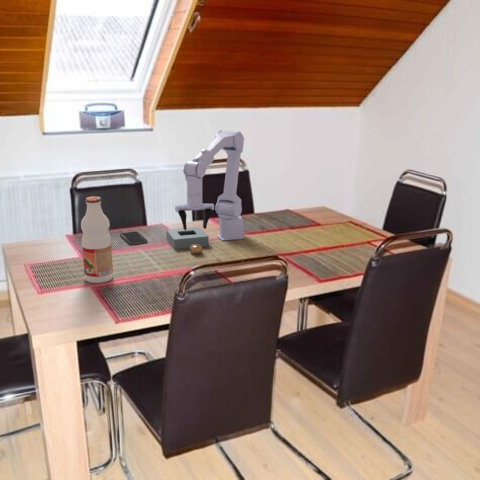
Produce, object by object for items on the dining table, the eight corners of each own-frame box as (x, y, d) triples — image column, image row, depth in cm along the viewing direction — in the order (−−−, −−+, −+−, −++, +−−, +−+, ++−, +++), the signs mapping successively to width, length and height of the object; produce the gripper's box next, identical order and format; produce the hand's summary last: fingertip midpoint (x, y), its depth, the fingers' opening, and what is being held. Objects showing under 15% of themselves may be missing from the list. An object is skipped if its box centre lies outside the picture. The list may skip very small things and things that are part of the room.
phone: (129, 243, 221) (119, 233, 234) (129, 246, 222) (119, 235, 234) (148, 241, 225) (137, 231, 237) (148, 243, 225) (137, 233, 238)
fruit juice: (111, 283, 184) (106, 201, 175) (82, 284, 183) (75, 201, 174) (114, 273, 193) (109, 194, 184) (87, 273, 192) (80, 194, 183)
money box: (199, 235, 235) (199, 226, 233) (208, 245, 222) (208, 236, 221) (166, 238, 230) (166, 229, 229) (174, 249, 218) (174, 239, 216)
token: (200, 251, 216) (200, 243, 215) (203, 254, 212) (203, 247, 211) (189, 252, 215) (189, 244, 214) (192, 255, 211) (192, 248, 210)
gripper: (177, 196, 201) (178, 233, 205) (216, 195, 205) (216, 230, 209) (173, 192, 207) (174, 227, 211) (211, 191, 211) (211, 225, 215)
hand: (194, 228), depth 210 cm, fingers open, 7 cm apart
